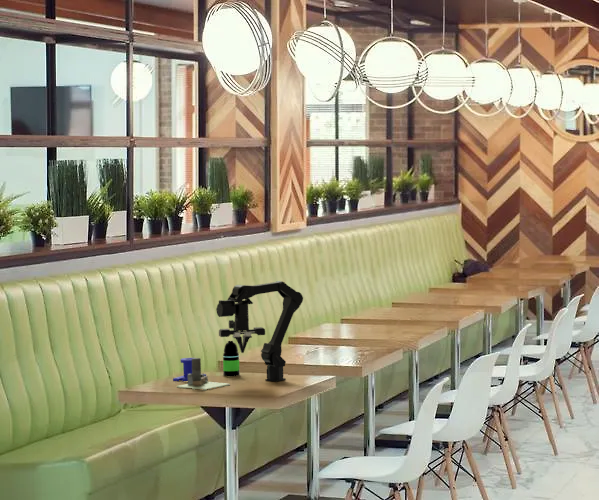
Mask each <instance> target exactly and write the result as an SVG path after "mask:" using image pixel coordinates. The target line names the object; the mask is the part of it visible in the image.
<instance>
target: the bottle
mask: <svg viewBox="0 0 599 500" xmlns="http://www.w3.org/2000/svg"><path fill="white" fill-rule="evenodd" d="M239 354H240V353H239V349H238V346H237V344H236V343H235V342H234V340H227V342H226V343H225V345H224V348H223V353H222V366H223V367H222V371H223V374H222V375H223V376H224V377H238V376H240V375H241V374H240V356H239Z"/></svg>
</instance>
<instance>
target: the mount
mask: <svg viewBox="0 0 599 500" xmlns="http://www.w3.org/2000/svg"><path fill="white" fill-rule="evenodd" d="M192 358H193V357H184V358H180V363H181V364H183V366H182V367H183V368H182V369H183V370H182V371H183V375H180V376H177V377H173V379H172V381H173V382H180V381H179V380H181V382H183V381H188V376H187V375H188V374H192ZM203 374H204V376H207V374H206V373H203Z"/></svg>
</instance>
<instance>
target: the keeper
mask: <svg viewBox="0 0 599 500" xmlns="http://www.w3.org/2000/svg"><path fill="white" fill-rule="evenodd" d="M204 374H205V373H201V377H203V376H204ZM187 376H188V382H187V384H188V385H193V381H192V374H188V375H187Z"/></svg>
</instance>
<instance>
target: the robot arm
mask: <svg viewBox="0 0 599 500" xmlns="http://www.w3.org/2000/svg"><path fill="white" fill-rule="evenodd" d="M275 292H278V294H279V295H280V296H281V297H282V298H283V301H282V312H281V314H280V316H279V318H278V322H276V323H277V324H276V327H275V329H274V331H273V334H272V336H271V339H270V341H269V342H268V343H267V342H264V343H263V347H262V348H261V350H260V352H261V354H260V356H261V359H262V360H263V361H264V365H265V366H266V378H265V379H264V380H265V381H268V382H281V381H285V380H287V379H286V378H285V377H284V367H285V366H286V362H287V361H286V360H285V359H284V358H283V357H282V356H281V355H282V351H283V349H282V343H283V341H284V339H285V335H286V334H287V331H288V329H289V326H290V324H291V320H292V319H293V316H294V314H295V312H296V311H297V310H298V309H299V308H300V306H301V305H302V303H303V301H304V296H303V295H302V293H301V292H299V291H296V290H295V289H294V288H293V287H291V286H289V285H288V284H287V283H285V282H284V281H281V280H279V281H278V280H277V281H275V282H268V283H267V282H266V283H261V284H254V285H249V284H247V285H246V284H236V285H234V286H233V288H232V291H231V293H230V295H229V296H228V298H227V299H226V300H222V299H220V300H218V304H217V306H216V310H215V311H216V315H217V316H218V317H219V318H220V317H221V318H223V317H234V320H233V319H230V320H228V328H220V329H219V330H218V337H220V338H228V337H230V336H232V338H233V339H235V340H236V342H237V344H238V347H239V350H240V352H241V354H244V352H245V350H246V348H247V344H248V342H249V341H250V339H251V338H253V336H252V334H253V335H257V336H265V335H266V328H264V327H262V326H258V327H257V326H256V327H253V329H250V327H249V324H250V323H249V319H250V318H249V305H253V304H254V302H253V301H252V300H251V298H252V297H255V296H257V295H262V294H270V293H275ZM230 329H231V330H230ZM232 329H233V330H232ZM241 335H242V336H241Z"/></svg>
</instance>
